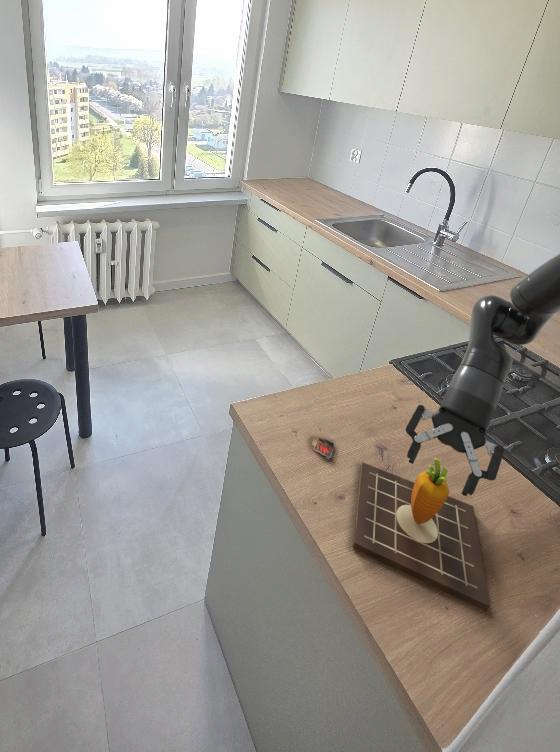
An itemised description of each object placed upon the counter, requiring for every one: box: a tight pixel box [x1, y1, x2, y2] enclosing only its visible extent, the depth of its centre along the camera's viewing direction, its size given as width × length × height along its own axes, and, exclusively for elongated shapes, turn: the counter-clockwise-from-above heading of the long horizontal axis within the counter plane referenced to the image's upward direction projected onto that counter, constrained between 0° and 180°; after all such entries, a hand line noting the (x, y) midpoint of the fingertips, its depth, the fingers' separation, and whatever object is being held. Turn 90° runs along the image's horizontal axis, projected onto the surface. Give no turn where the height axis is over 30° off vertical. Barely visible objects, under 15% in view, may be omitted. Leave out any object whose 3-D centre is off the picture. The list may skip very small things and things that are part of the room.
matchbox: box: [311, 437, 335, 461], centre depth 92 cm, size 5×5×1 cm
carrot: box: [411, 457, 450, 524], centre depth 74 cm, size 5×5×15 cm
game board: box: [352, 461, 491, 612], centre depth 77 cm, size 20×18×2 cm
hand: (436, 478), depth 74 cm, fingers open, 8 cm apart
